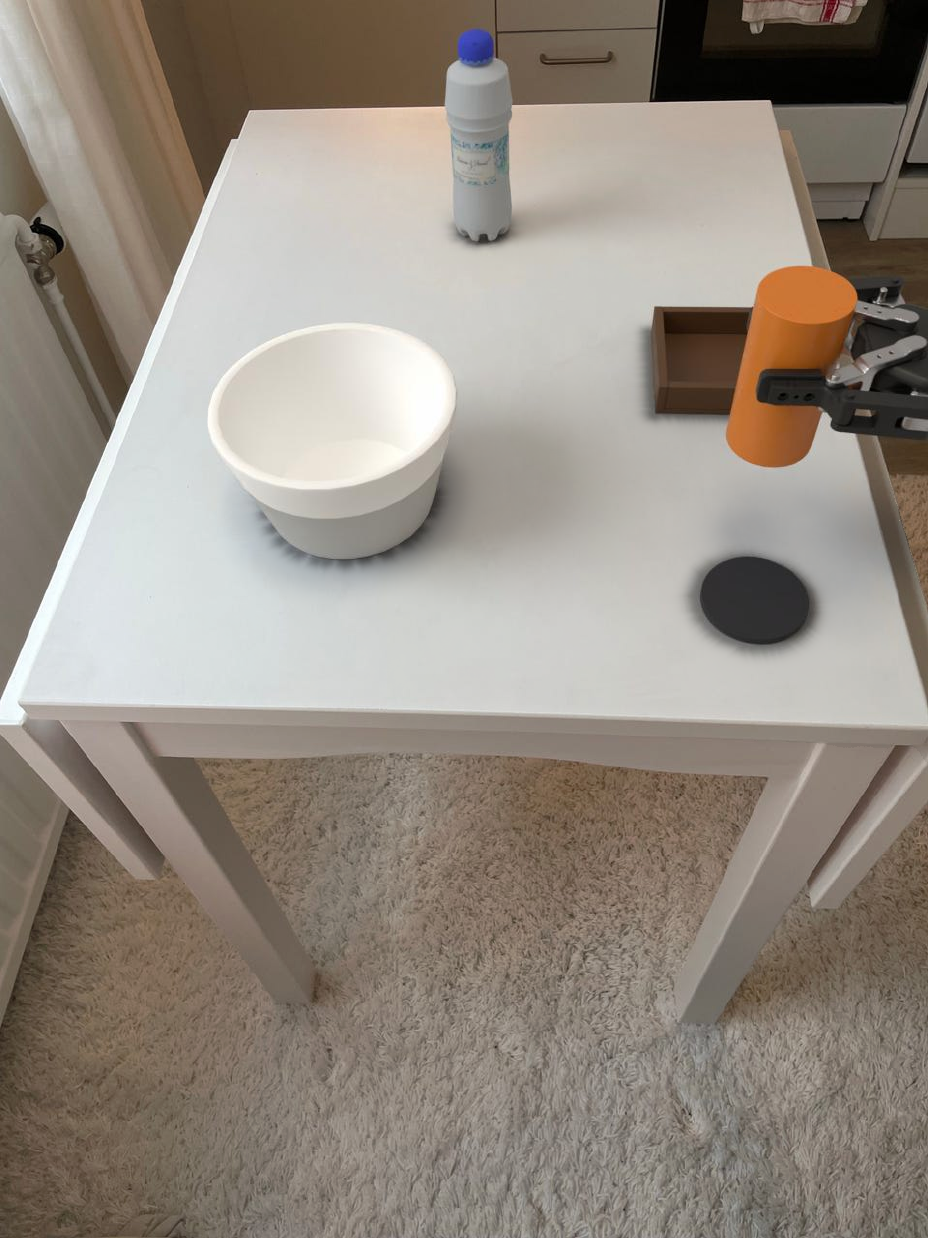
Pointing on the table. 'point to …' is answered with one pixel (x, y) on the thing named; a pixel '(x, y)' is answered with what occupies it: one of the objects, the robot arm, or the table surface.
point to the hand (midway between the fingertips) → (754, 352)
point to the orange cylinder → (788, 359)
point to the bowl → (337, 434)
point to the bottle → (479, 137)
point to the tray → (697, 357)
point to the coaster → (754, 600)
